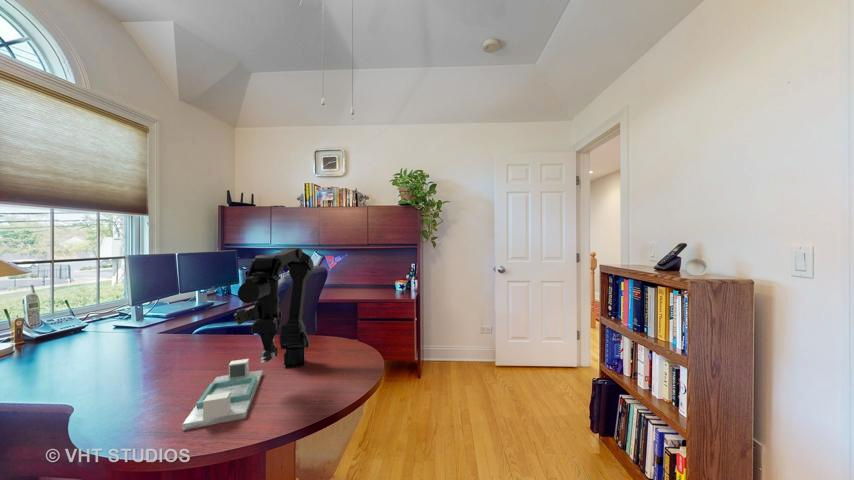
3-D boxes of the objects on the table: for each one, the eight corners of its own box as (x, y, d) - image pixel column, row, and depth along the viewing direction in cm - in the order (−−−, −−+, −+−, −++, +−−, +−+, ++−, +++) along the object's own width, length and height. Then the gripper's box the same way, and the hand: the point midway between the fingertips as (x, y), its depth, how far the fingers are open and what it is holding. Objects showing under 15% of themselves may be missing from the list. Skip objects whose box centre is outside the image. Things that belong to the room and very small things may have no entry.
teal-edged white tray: (262, 374, 99) (262, 366, 99) (245, 418, 74) (245, 407, 74) (216, 381, 94) (216, 373, 94) (182, 430, 70) (182, 419, 70)
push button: (269, 365, 84) (270, 330, 84) (252, 363, 85) (252, 329, 84) (282, 355, 91) (283, 323, 91) (266, 354, 91) (266, 322, 91)
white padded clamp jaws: (248, 372, 98) (248, 358, 98) (227, 415, 73) (227, 397, 73) (231, 374, 96) (231, 361, 96) (203, 420, 71) (203, 401, 71)
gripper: (243, 293, 94) (243, 341, 94) (228, 304, 77) (228, 364, 76) (282, 291, 98) (282, 337, 98) (275, 301, 81) (276, 358, 81)
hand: (268, 348), depth 88 cm, fingers closed on push button, 4 cm apart
